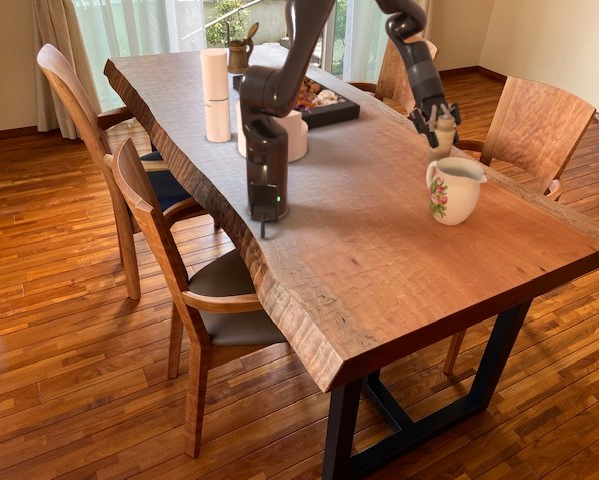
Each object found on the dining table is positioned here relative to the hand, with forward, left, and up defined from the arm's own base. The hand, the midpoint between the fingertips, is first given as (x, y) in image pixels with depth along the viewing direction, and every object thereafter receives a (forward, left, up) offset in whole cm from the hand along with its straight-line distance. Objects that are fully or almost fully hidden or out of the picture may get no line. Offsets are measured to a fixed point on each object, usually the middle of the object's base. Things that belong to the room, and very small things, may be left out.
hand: (445, 145), depth 124 cm
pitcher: (-16, 0, -11) cm, 19 cm away
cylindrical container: (+17, +63, -11) cm, 66 cm away
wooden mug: (+83, +69, -11) cm, 109 cm away
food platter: (+51, +45, -11) cm, 69 cm away
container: (+13, +46, -11) cm, 49 cm away
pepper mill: (+1, +1, -6) cm, 7 cm away
